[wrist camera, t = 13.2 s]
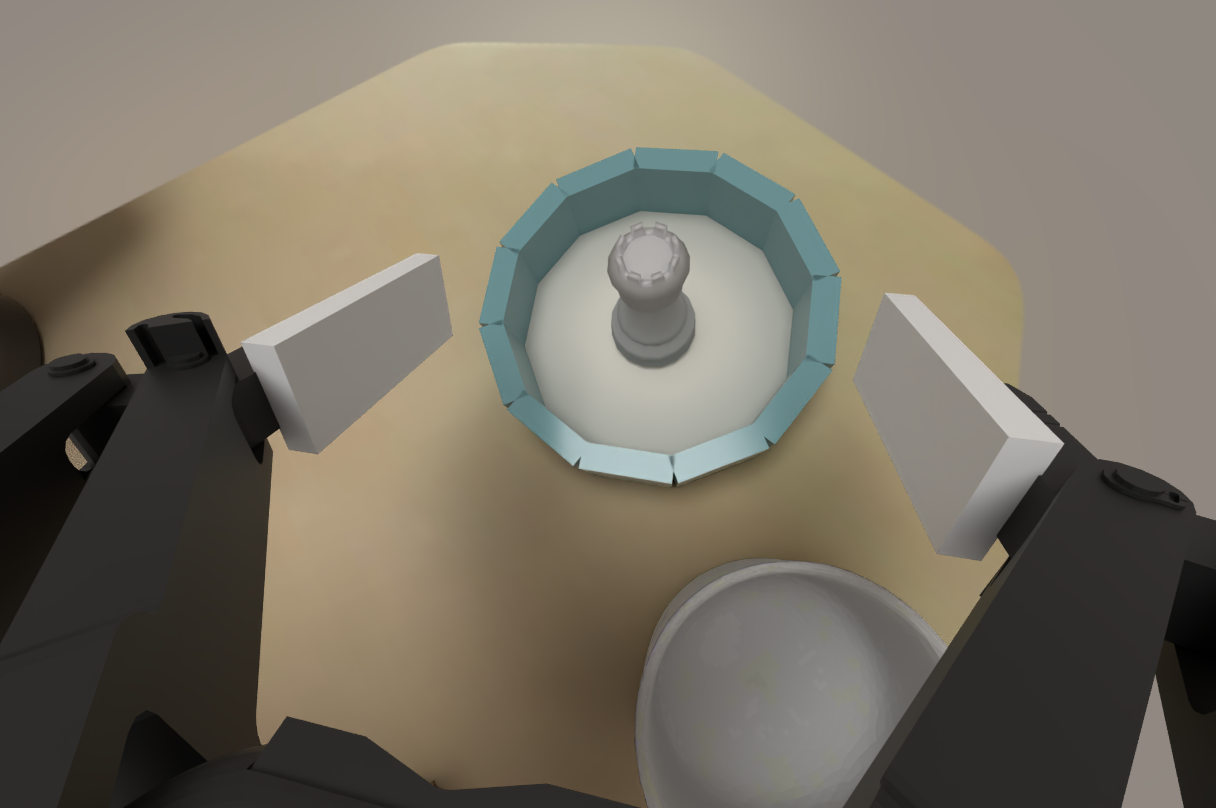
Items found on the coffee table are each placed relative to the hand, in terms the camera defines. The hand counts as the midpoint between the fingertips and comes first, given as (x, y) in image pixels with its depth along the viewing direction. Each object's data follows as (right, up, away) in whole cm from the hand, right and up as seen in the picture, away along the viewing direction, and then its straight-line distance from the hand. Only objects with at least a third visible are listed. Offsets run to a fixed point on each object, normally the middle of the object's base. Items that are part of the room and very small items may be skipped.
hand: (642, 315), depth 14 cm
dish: (+2, +1, +12) cm, 12 cm away
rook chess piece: (+1, +1, +11) cm, 11 cm away
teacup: (+7, -16, +8) cm, 19 cm away
